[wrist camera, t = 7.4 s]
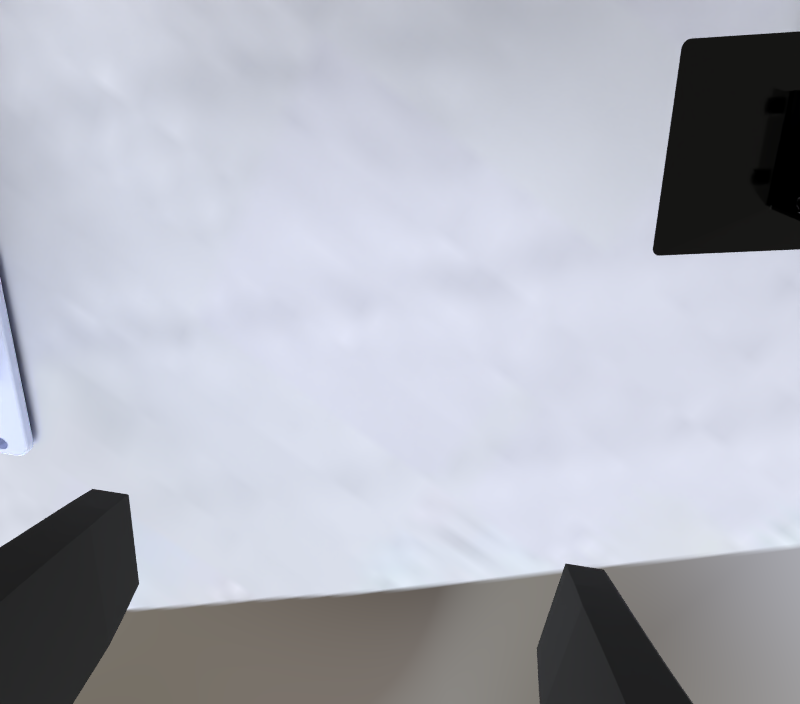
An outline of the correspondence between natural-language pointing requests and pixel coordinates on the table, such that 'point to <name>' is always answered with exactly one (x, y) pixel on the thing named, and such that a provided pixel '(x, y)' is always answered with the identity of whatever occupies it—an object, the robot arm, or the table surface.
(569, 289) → the table surface
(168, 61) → the table surface
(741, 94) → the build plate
